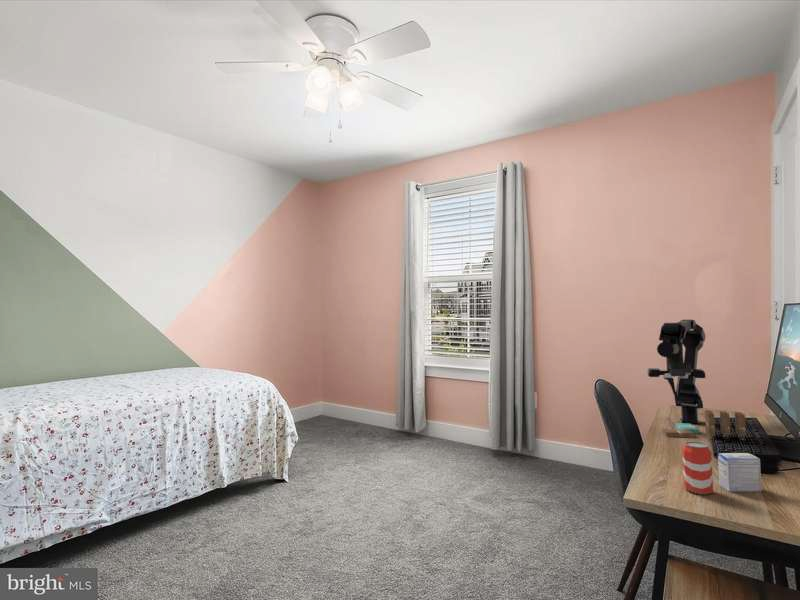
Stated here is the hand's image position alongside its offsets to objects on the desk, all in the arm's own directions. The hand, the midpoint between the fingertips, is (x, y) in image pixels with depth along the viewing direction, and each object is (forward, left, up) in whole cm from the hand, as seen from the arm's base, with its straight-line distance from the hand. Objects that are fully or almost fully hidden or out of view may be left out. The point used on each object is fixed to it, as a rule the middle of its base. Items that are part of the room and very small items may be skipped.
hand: (676, 395), depth 178 cm
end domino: (+5, +4, -12) cm, 14 cm away
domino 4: (+9, +18, -13) cm, 24 cm away
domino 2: (+9, +9, -13) cm, 18 cm away
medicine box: (+61, +6, -13) cm, 63 cm away
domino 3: (+9, +13, -13) cm, 21 cm away
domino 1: (+9, +3, -12) cm, 15 cm away
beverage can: (+66, -4, -13) cm, 67 cm away
